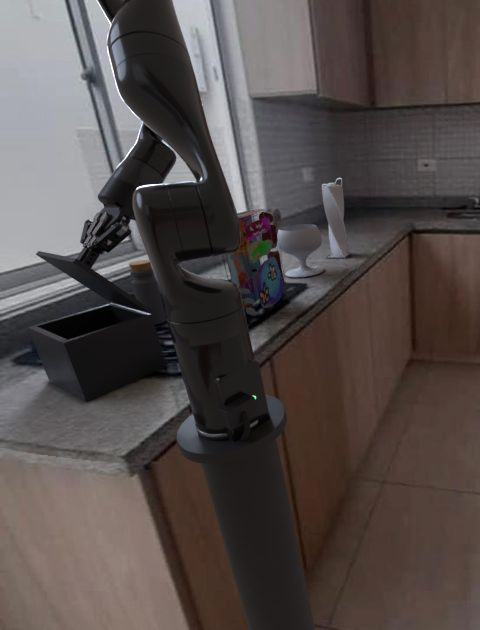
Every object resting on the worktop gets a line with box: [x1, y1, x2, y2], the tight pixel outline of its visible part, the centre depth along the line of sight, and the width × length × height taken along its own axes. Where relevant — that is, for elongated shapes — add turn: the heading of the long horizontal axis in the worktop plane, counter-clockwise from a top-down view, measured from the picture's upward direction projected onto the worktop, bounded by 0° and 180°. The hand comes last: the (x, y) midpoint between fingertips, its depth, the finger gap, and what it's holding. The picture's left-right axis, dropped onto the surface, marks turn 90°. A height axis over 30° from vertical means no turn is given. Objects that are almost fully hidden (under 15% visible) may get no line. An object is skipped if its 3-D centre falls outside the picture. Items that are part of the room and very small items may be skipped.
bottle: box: [128, 259, 167, 326], centre depth 107 cm, size 6×6×15 cm
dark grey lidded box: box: [27, 302, 167, 402], centre depth 82 cm, size 14×15×11 cm
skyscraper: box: [321, 177, 351, 260], centre depth 159 cm, size 8×8×28 cm
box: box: [221, 208, 288, 323], centre depth 112 cm, size 25×6×24 cm, turn 170°
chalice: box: [277, 223, 324, 278], centre depth 142 cm, size 14×14×15 cm
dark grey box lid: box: [35, 250, 152, 313], centre depth 79 cm, size 15×15×1 cm
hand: (80, 269), depth 77 cm, fingers closed
